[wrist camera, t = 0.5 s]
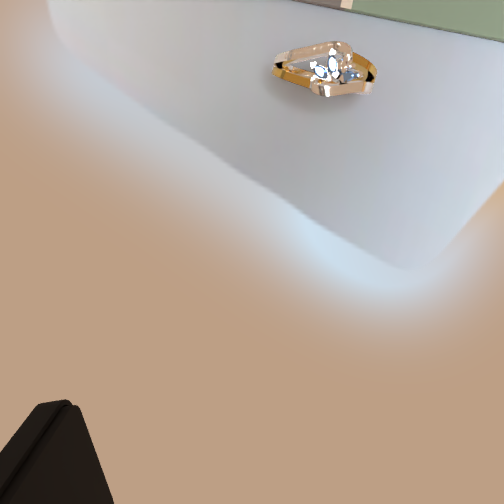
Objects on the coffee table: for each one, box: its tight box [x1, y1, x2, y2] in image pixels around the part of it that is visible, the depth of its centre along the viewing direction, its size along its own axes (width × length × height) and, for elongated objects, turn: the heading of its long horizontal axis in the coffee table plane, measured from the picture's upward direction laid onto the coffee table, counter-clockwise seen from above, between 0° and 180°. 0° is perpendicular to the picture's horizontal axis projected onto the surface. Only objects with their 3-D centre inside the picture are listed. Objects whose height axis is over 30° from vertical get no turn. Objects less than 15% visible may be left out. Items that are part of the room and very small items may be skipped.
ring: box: [272, 41, 377, 96], centre depth 29 cm, size 7×3×8 cm, turn 75°
